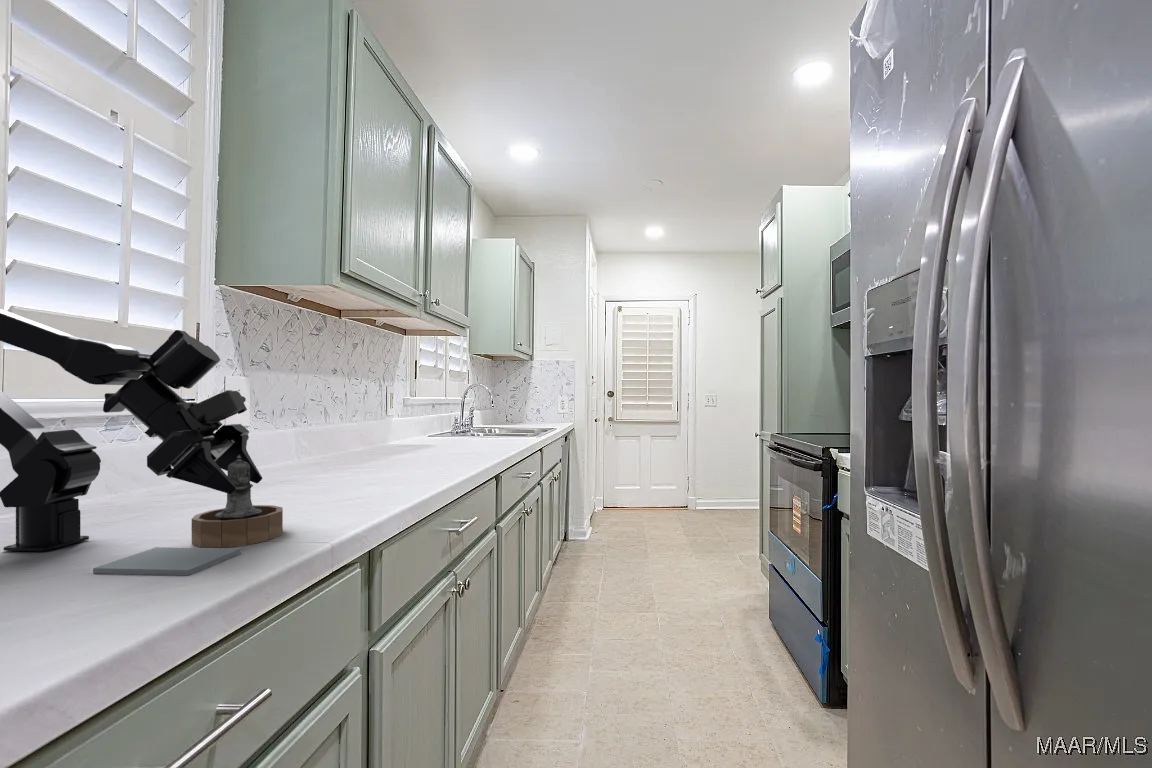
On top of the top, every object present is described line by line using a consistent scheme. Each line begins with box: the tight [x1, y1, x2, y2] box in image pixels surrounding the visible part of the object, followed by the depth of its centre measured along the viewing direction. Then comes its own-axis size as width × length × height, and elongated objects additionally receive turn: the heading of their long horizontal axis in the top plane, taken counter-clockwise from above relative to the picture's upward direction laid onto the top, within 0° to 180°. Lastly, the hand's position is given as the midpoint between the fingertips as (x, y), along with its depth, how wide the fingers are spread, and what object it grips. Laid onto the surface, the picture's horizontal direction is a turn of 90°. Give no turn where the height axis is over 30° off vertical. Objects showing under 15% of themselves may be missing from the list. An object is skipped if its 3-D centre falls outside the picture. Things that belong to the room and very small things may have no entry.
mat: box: [92, 546, 242, 576], centre depth 71 cm, size 12×9×1 cm
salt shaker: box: [215, 455, 262, 520], centre depth 84 cm, size 6×6×12 cm
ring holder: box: [191, 504, 284, 548], centre depth 84 cm, size 11×11×4 cm
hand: (247, 486), depth 84 cm, fingers open, 9 cm apart
